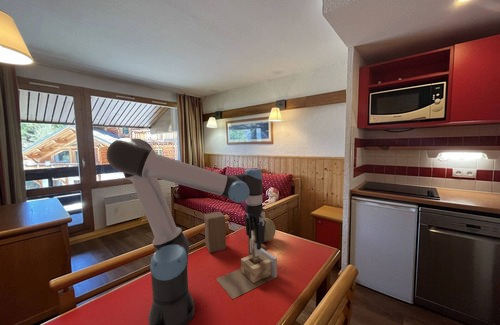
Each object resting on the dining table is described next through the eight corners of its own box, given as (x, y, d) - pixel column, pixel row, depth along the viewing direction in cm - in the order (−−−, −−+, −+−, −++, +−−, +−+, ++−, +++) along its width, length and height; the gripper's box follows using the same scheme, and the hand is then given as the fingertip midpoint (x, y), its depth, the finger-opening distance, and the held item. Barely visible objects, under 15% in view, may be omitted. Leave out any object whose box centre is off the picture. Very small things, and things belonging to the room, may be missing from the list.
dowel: (254, 267, 92) (254, 232, 91) (250, 263, 95) (250, 230, 93) (260, 264, 94) (259, 230, 92) (256, 261, 97) (255, 228, 95)
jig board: (232, 299, 80) (232, 299, 80) (215, 279, 92) (215, 278, 92) (278, 276, 93) (278, 275, 93) (258, 261, 106) (258, 260, 106)
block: (205, 246, 123) (203, 213, 121) (221, 242, 127) (220, 210, 125) (209, 253, 114) (207, 218, 112) (226, 249, 118) (225, 215, 116)
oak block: (253, 283, 88) (253, 269, 87) (241, 271, 96) (240, 258, 96) (271, 274, 94) (271, 261, 93) (258, 264, 102) (258, 252, 101)
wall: (274, 278, 92) (274, 259, 91) (254, 262, 104) (254, 245, 103) (276, 277, 93) (276, 258, 92) (257, 261, 105) (256, 244, 104)
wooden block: (263, 251, 115) (262, 220, 114) (267, 255, 111) (266, 223, 109) (248, 254, 112) (247, 222, 110) (251, 259, 108) (250, 225, 106)
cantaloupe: (264, 249, 117) (263, 223, 116) (247, 240, 128) (246, 217, 127) (280, 240, 127) (280, 217, 126) (263, 233, 138) (263, 211, 137)
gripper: (272, 205, 87) (273, 258, 89) (250, 198, 100) (252, 244, 103) (258, 209, 83) (259, 264, 85) (237, 200, 96) (239, 248, 98)
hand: (255, 253), depth 94 cm, fingers closed on dowel, 3 cm apart
